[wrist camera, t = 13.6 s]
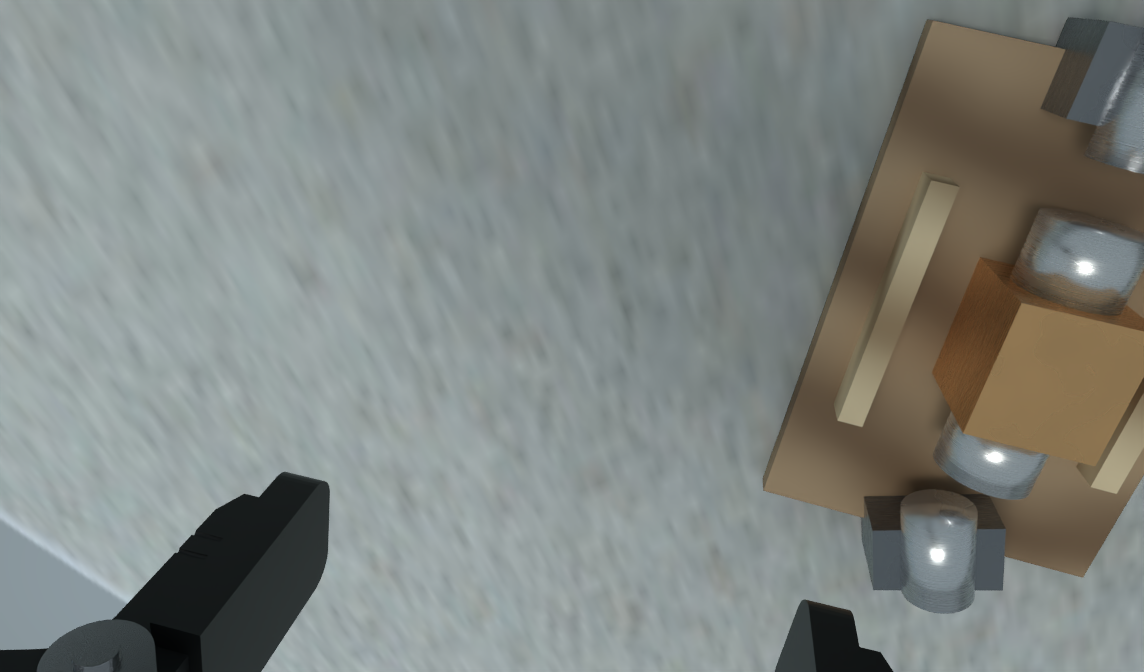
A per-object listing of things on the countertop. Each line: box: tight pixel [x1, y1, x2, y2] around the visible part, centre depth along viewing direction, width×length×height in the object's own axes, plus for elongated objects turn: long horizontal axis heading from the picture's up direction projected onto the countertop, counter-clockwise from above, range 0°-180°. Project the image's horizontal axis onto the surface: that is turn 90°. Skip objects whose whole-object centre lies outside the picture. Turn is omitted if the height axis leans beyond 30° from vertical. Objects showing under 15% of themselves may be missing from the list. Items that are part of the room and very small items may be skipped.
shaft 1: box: [861, 489, 1006, 613], centre depth 34 cm, size 4×5×5 cm
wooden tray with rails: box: [763, 20, 1144, 577], centre depth 32 cm, size 20×14×2 cm
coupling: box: [932, 208, 1144, 500], centre depth 30 cm, size 10×4×5 cm, turn 169°
